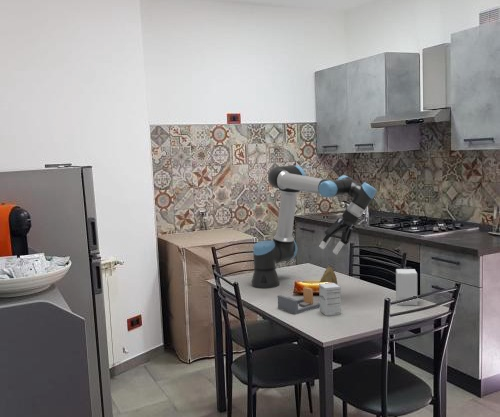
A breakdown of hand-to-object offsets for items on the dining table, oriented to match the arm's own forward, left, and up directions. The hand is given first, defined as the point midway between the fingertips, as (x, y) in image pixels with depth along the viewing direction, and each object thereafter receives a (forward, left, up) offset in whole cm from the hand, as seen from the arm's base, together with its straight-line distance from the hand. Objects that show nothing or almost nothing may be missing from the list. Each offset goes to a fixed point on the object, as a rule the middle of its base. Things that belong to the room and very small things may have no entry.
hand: (327, 250), depth 247 cm
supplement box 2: (+29, +22, -24) cm, 43 cm away
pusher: (0, -15, -24) cm, 28 cm away
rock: (-17, +18, -24) cm, 35 cm away
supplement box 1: (+15, -14, -24) cm, 32 cm away
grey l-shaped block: (0, -16, -24) cm, 29 cm away
